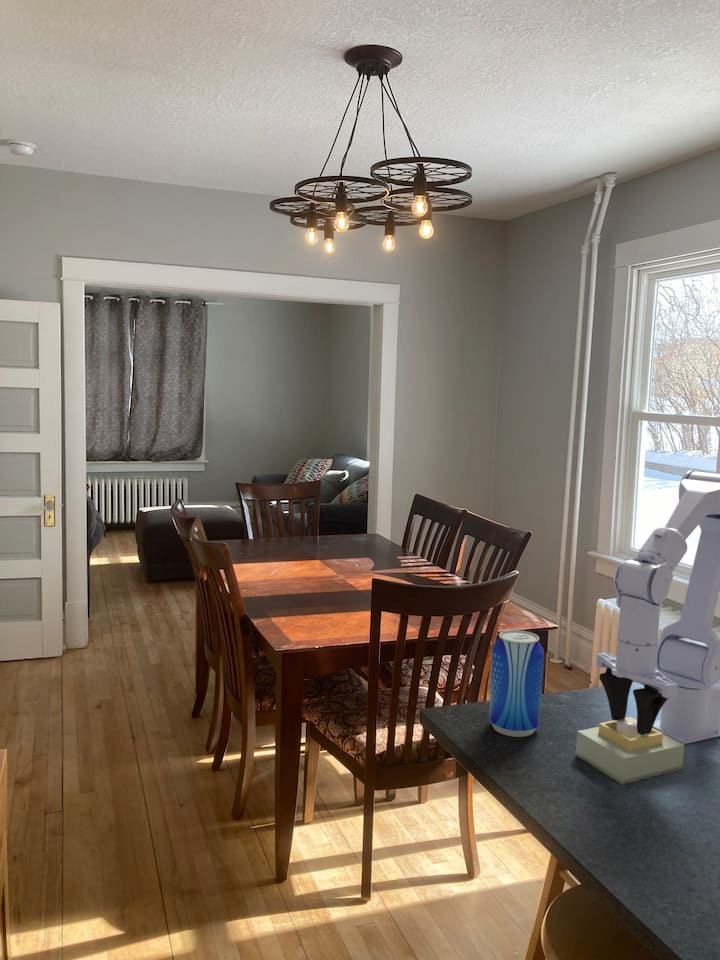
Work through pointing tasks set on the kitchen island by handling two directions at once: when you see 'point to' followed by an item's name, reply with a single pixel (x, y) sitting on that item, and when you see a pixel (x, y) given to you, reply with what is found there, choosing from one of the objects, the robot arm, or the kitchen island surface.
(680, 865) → the kitchen island surface
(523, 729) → the beer can
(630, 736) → the pellet
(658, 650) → the robot arm
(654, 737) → the square stacking base
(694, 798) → the kitchen island surface
